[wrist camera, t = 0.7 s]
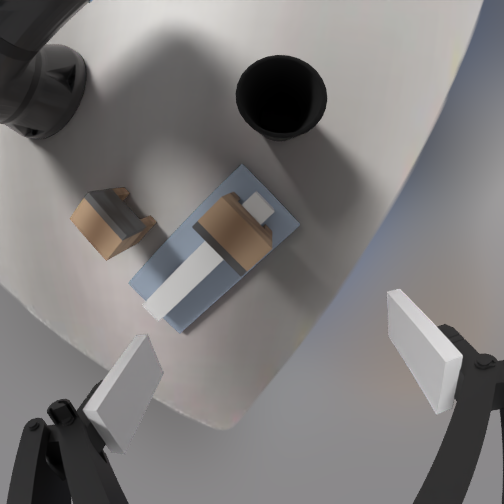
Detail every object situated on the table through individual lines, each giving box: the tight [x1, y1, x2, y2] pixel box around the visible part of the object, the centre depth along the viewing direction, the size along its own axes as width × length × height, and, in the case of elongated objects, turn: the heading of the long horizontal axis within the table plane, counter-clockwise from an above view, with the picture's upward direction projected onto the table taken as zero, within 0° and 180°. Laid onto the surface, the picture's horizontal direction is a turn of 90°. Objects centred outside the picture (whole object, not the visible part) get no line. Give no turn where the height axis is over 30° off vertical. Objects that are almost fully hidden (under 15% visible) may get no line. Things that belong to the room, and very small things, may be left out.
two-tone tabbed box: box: [70, 187, 156, 261], centre depth 35 cm, size 7×4×9 cm, turn 44°
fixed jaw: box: [192, 192, 272, 277], centre depth 33 cm, size 7×4×9 cm, turn 44°
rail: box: [129, 164, 300, 333], centre depth 38 cm, size 10×22×4 cm, turn 134°
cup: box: [236, 55, 327, 141], centre depth 29 cm, size 8×8×12 cm
